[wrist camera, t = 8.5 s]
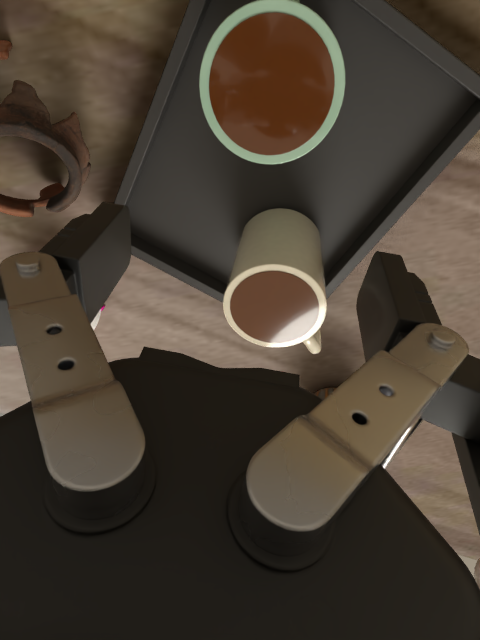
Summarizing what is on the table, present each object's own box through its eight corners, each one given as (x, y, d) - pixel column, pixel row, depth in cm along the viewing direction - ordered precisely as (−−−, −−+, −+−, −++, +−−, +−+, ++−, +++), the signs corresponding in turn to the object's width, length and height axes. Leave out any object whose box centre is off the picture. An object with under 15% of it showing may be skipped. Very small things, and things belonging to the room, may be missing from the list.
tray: (111, 225, 33) (100, 238, 32) (240, -109, 21) (234, -120, 19) (291, 322, 37) (291, 339, 35) (493, 90, 25) (508, 98, 23)
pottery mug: (44, 7, 25) (44, 87, 21) (110, 136, 33) (119, 210, 30) (-139, 64, 26) (-171, 152, 22) (-28, 177, 34) (-37, 255, 30)
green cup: (316, 134, 26) (321, 177, 20) (219, 114, 26) (192, 150, 20) (366, -54, 21) (395, -78, 14) (242, -81, 21) (215, -116, 14)
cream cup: (222, 234, 31) (202, 293, 25) (295, 191, 29) (293, 245, 22) (282, 316, 36) (278, 384, 29) (351, 285, 33) (362, 353, 26)
